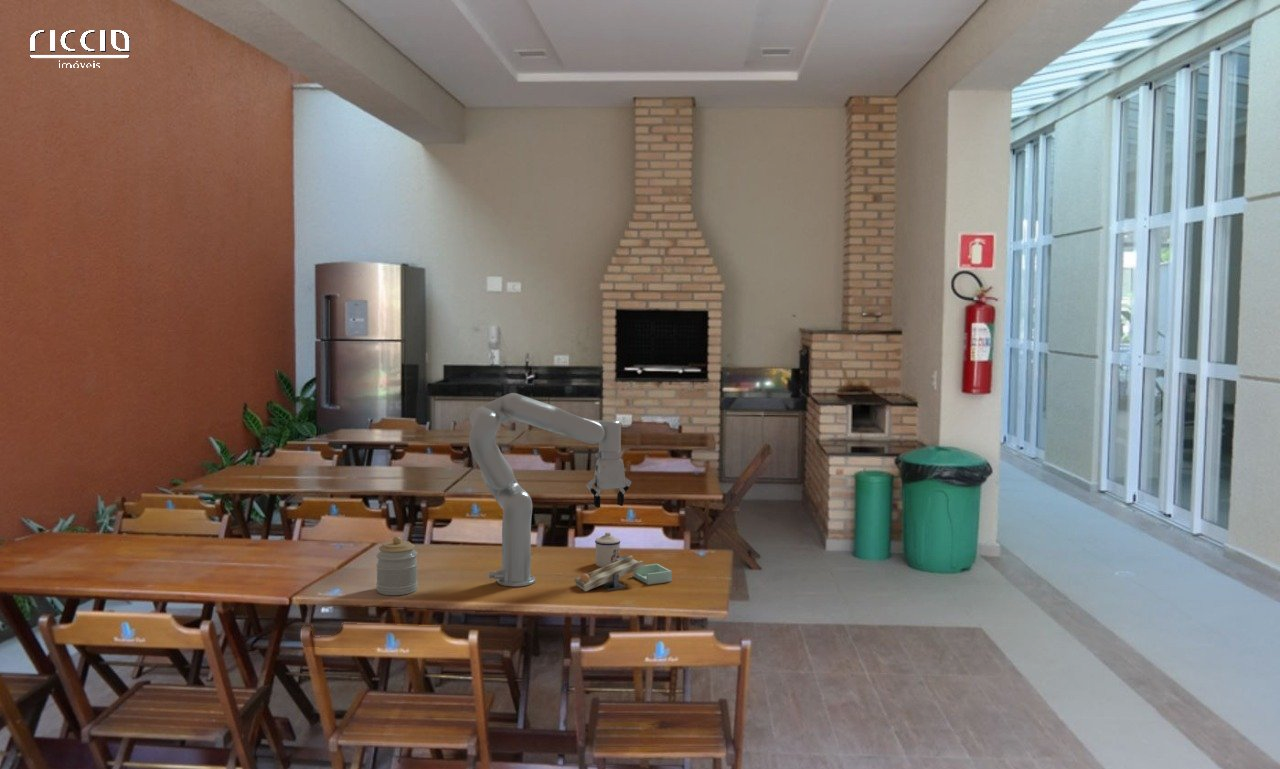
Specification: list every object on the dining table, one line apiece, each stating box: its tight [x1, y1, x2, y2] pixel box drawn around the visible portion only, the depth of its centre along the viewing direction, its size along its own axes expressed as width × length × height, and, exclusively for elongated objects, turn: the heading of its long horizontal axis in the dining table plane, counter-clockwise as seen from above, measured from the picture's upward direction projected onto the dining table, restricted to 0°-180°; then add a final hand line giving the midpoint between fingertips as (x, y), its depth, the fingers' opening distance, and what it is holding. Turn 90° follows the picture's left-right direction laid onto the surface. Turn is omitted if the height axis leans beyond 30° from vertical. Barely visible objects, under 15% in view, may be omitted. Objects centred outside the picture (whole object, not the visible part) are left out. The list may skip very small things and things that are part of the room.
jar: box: [375, 535, 419, 596], centre depth 304 cm, size 13×13×18 cm
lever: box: [574, 554, 645, 592], centre depth 315 cm, size 22×13×3 cm, turn 117°
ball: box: [579, 573, 590, 583], centre depth 309 cm, size 3×3×3 cm
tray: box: [632, 563, 673, 586], centre depth 320 cm, size 9×11×4 cm
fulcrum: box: [600, 567, 627, 591], centre depth 313 cm, size 6×12×5 cm, turn 27°
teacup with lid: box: [594, 532, 621, 568], centre depth 339 cm, size 12×9×12 cm
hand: (608, 505), depth 325 cm, fingers open, 8 cm apart
